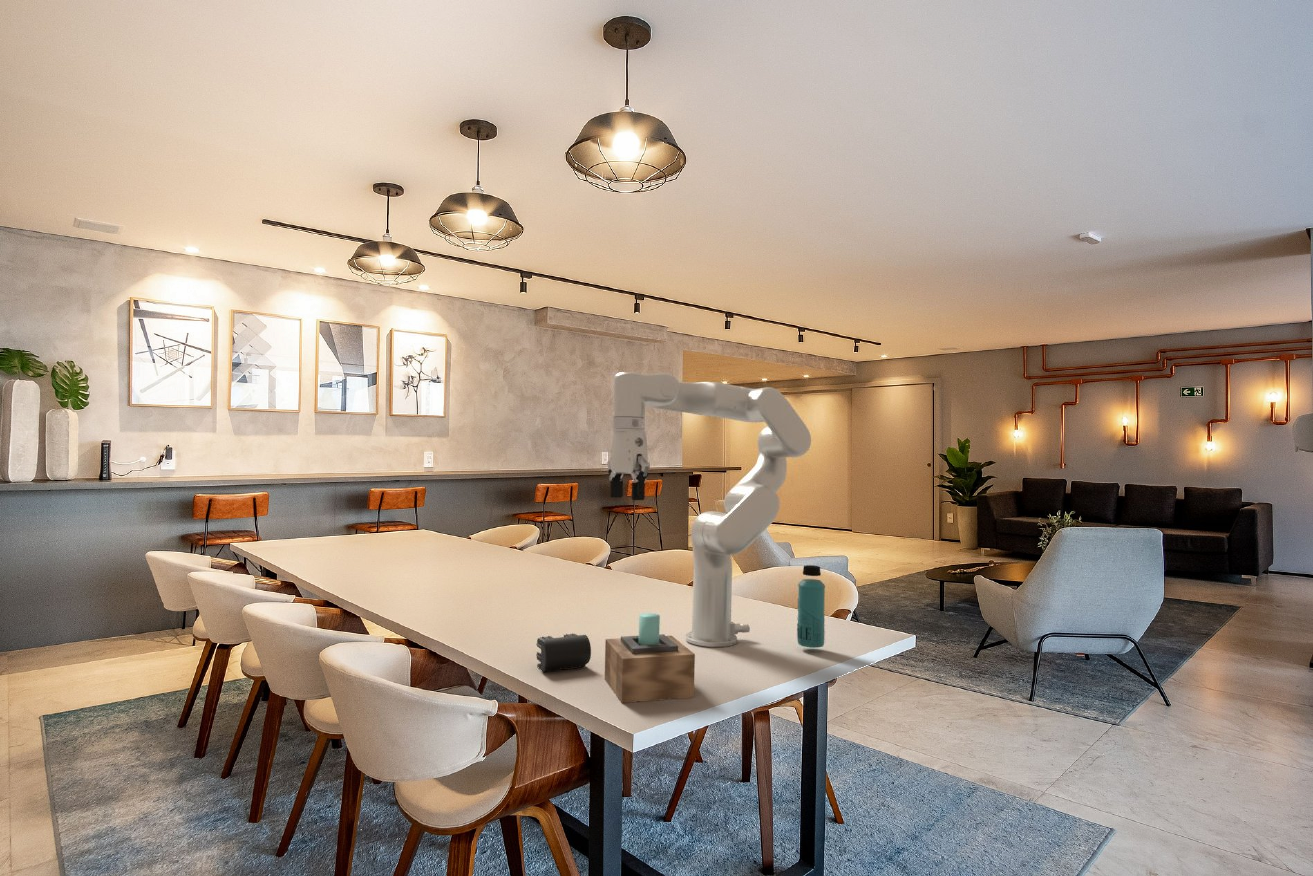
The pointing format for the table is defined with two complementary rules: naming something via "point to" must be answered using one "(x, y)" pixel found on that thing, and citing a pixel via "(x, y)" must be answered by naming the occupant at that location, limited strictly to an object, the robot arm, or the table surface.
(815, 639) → the beverage bottle
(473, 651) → the table surface
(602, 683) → the table surface
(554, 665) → the end cap
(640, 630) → the peg
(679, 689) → the socket block
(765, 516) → the robot arm
